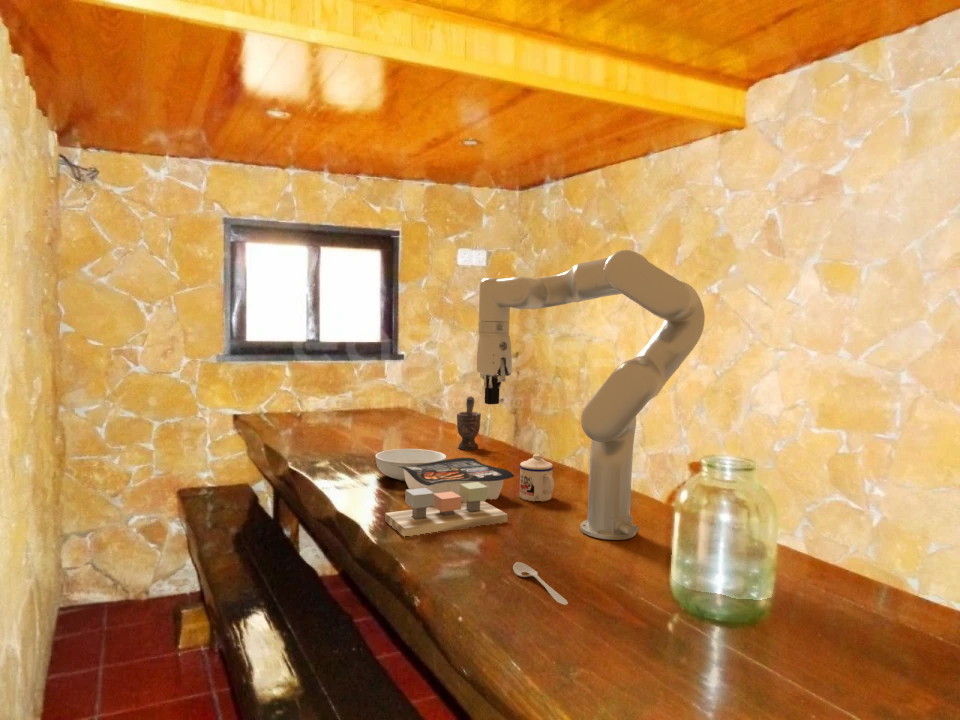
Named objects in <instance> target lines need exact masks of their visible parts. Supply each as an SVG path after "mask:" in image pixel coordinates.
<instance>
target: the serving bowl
mask: <svg viewBox="0 0 960 720" xmlns="http://www.w3.org/2000/svg"><path fill="white" fill-rule="evenodd" d="M374 457H375V462H376V466H377V468H378V469H379V471H380V472H381V473H382V474H384V475H385V476H387V477H389V478H391V479H396V480H398V481H402V482H406V481H405V476H404V470H403V468H401V467H397V466H416V465H422V464H428V463H433V462H438V461H443V460H447V456H446V454H444V453H443V452H440V451H436V450H432V449H431V450H429V449H420V448H396V449H388V450H383V451H380V452H378V453H376V454H375V456H374Z"/></svg>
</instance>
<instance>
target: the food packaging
mask: <svg viewBox="0 0 960 720" xmlns="http://www.w3.org/2000/svg"><path fill="white" fill-rule="evenodd" d="M397 467H401V468H403V470H404V476H405V481H404V482H405V483H406V486H407V487H408V490H409V489H418V488H427V489H428V490H430V491H431V492H433V493H443V492H454V493H456V494H457V495H459V496H460V484H464V483H474V482H479V483H481V484H483V485H485V486H487V487H488V499H487V500H489V499H494V500H498V498H499V496H500V494H501V492H502V489H503V485H504V481H505V480H507V479H512V478H514V477H515V474H513V473H512V472H511V471H509V470H507V469H505V468H500V467H495V466H492V465H488V464H485V463H482V462H480V461H478V460H477V459H475V458H474V457H456V458H450V459H446V460H443V461H438V462H433V463H428V464H422V465H416V466H397ZM480 501H485V502H486V500H480ZM465 502H467V500H465V499H463V498H462V497H461V504H462V503H465Z"/></svg>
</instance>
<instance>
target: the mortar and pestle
mask: <svg viewBox="0 0 960 720" xmlns="http://www.w3.org/2000/svg"><path fill="white" fill-rule="evenodd" d="M474 406H475V397H473V396H467V398H466V411H459V412H457V413H456V428H457V431H458V435H459V436H460V437H461V441H460V443H459V445H458V446H457V448H458V449H459V450H464V451H476V450H478V449H479V444H478V443H476V437H477V436H478V435H479V433H480V428H481V418H482V417H481V415H482V413H480V412H478V411H473V410H474Z"/></svg>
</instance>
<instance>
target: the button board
mask: <svg viewBox="0 0 960 720" xmlns="http://www.w3.org/2000/svg"><path fill="white" fill-rule="evenodd" d="M466 507H467V503H462V502H461V510H454V515H448V516H443V515H441V514H440V511H439V510H438V509H436V508H435V507H433V506H430V507H426V517H423V518H415V517H414V516H412V509H406V510H400V511H399V510H398V511H391V512H385V515H384V516H385V518H384V519H385V523H387V524H388V525H389V526H390V527H391V526H392V527H391V528H392V529H393V530H395V531H396V530H397V531H398V532H399V534H400V536H402V535H403V536H404V537H403V536H402V537H403V538H406V537H405V536H410V537H414V536H413V535H417V536H421V535H420V534H424V535H426V534H425V533H430V534H432V533H431V532H437V533H439V532H438V531H444V532H449V531H448V530H451V531H455V530H454V529H458V530H462V529H461V528H465V529H470V528H469V527H472V528H476V527H475V526H479V527H481V526H480V525H486V526H488V525H487V524H492V525H495V524H494V523H499V524H503V523H502V522H506V523H508V513H506V512H504V511H503V510H501V509H499V508H497V507H495V506H493V505H492V504H490V503H488V502H486V500H485V501H480V510H476V511H470V510H468V509H467V508H466ZM397 531H396V532H397Z"/></svg>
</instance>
